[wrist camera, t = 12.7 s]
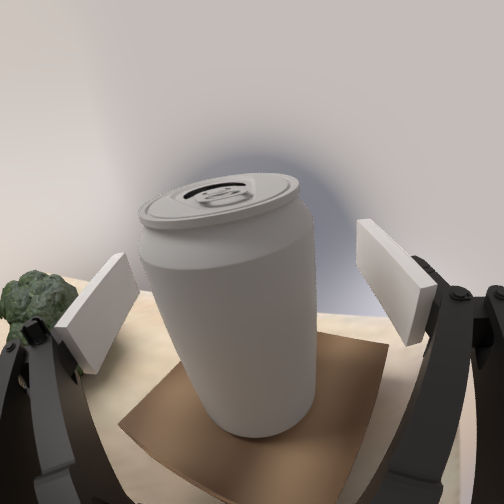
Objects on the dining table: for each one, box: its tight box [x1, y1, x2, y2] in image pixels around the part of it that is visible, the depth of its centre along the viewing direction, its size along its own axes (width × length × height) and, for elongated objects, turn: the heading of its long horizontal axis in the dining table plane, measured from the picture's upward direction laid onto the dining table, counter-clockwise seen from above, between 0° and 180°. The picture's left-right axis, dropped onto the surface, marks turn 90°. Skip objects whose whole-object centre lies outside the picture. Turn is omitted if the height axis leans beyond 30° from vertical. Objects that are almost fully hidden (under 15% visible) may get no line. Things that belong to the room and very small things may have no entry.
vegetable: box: [0, 270, 83, 376], centre depth 22 cm, size 12×13×15 cm
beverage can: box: [138, 173, 317, 438], centre depth 12 cm, size 6×6×12 cm
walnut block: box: [118, 332, 389, 504], centre depth 16 cm, size 13×13×5 cm
